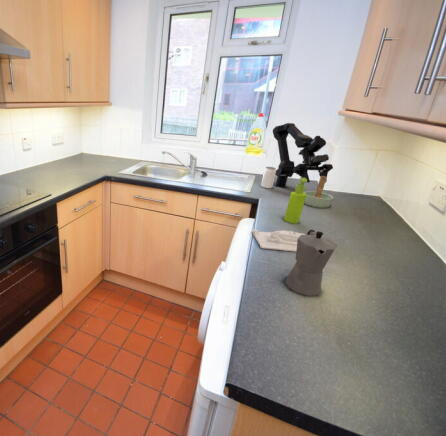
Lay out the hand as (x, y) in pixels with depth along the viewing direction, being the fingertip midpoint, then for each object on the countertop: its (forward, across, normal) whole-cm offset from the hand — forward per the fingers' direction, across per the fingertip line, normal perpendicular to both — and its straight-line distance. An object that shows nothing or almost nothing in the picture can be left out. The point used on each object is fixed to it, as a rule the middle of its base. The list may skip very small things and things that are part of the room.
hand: (317, 182), depth 155 cm
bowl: (+10, 0, +5) cm, 11 cm away
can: (-11, -11, +26) cm, 31 cm away
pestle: (+9, 0, +5) cm, 11 cm away
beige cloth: (+41, -43, -25) cm, 65 cm away
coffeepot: (+60, -54, -44) cm, 92 cm away
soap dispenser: (+26, -28, -11) cm, 40 cm away
